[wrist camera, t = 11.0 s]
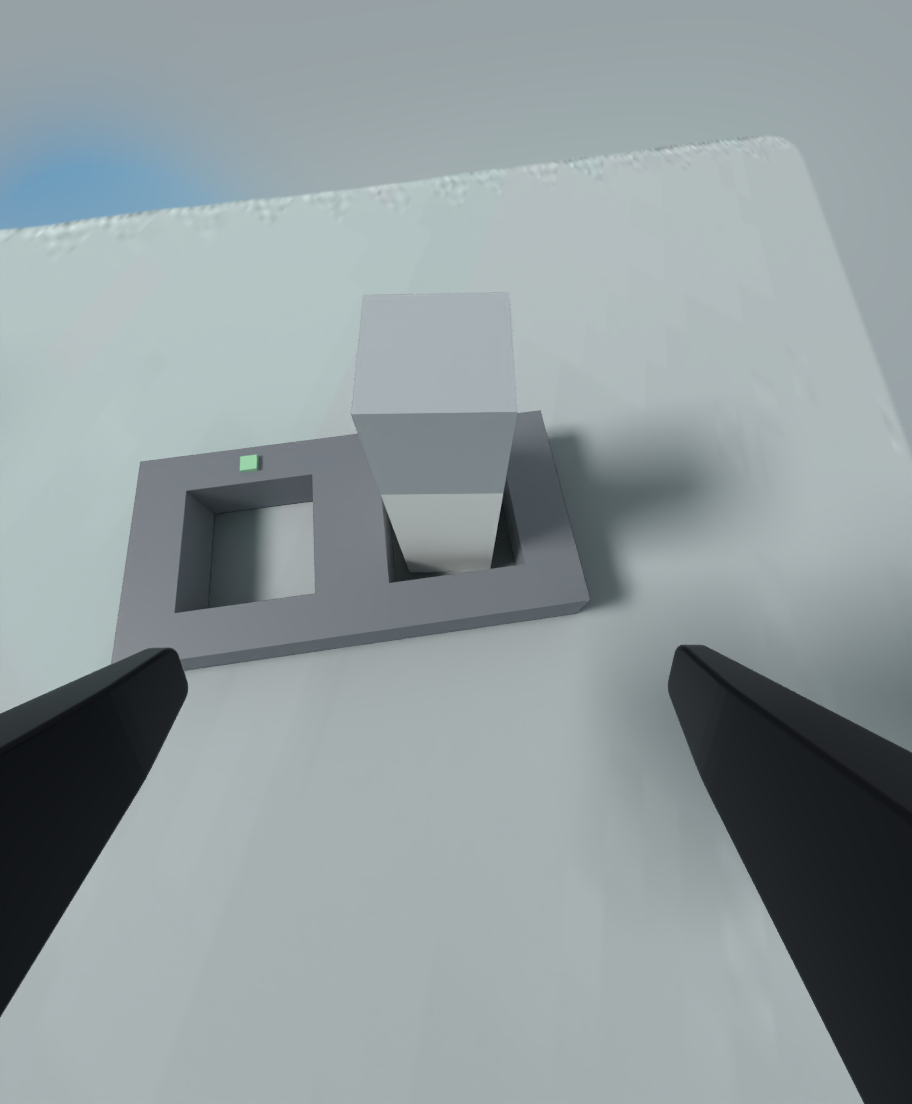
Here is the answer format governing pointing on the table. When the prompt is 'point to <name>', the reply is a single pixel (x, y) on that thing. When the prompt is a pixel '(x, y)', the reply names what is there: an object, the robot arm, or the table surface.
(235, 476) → the socket plate
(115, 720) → the robot arm
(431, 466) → the plug
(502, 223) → the table surface
